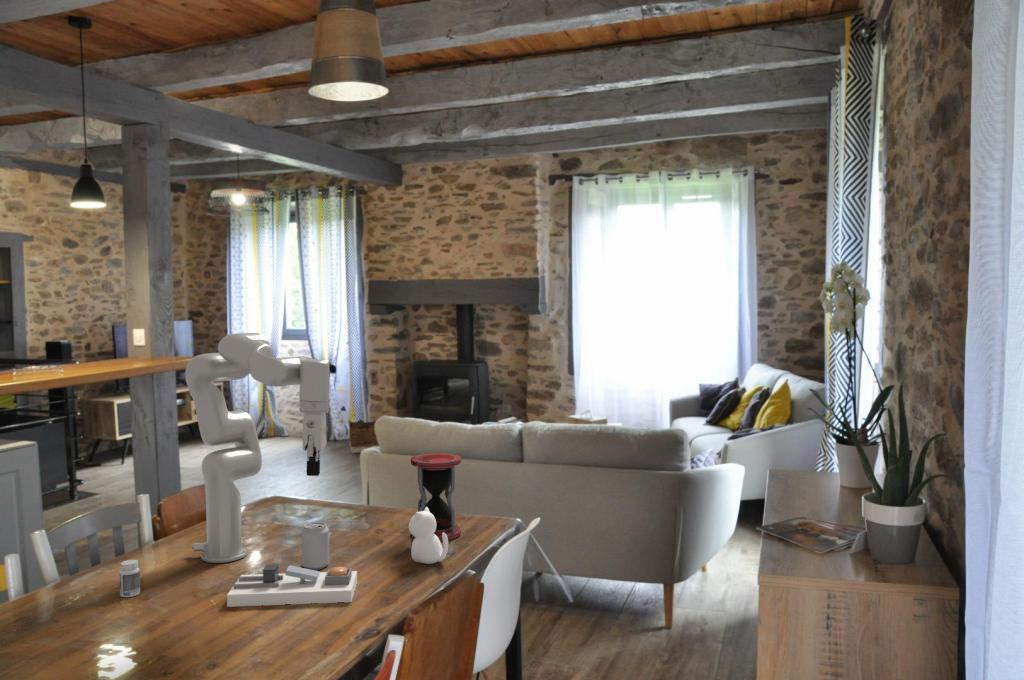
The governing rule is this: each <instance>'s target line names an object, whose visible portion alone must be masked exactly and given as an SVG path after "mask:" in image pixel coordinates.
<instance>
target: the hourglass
mask: <svg viewBox="0 0 1024 680" xmlns="http://www.w3.org/2000/svg"><path fill="white" fill-rule="evenodd" d="M461 462H462V458H461V456H459V455H457V454H453V453H442V452H441V453H438V452H437V453H423V454H418V455H414V456H412V457H411V458H410V465H412V466H413V467H416V468H417V485H418V491H419V494H420V499H419V500H418V502H417V512H421V511H424V510H425V508H426V507H428V509H429V511H430V513H432V514H433V516H434V517H435V520H436V530H435V532H434V533H433V534H435V535H436V536H437V537H438V538H439V540H440V542H443V539H442V533H445V534H446V535H447V538H448V541H451V540H454V539H453V538H455V539H456V537H457V538H458V536H459V535H461V534H462V528H461V526H460V525H458V524H456V520H455V519H456V510H455V507H454V505H453V501H452V494H453V493H454V491H455V487H456V486H455V485H456V481H455V478H456V477H455V473H456V472H455V471H456V468H455V467H456V466H459V465H460V464H461ZM426 491H427V492H428V493H429V494H430V495H431V498H430V499H429V500H428V499H427V494H426ZM443 492H444V494H445V495H444V496H445V498H446V501H444V499H443V498H441V494H442V493H443ZM427 500H428V501H427ZM446 502H447V503H446ZM460 533H461V534H460ZM410 535H411V537H412V536H413V535H412V534H411V533H410ZM413 537H414V536H413ZM413 537H412V538H413ZM459 537H460V536H459ZM415 538H416V537H414V538H413V539H415ZM450 539H451V540H450Z"/></svg>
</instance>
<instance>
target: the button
mask: <svg viewBox="0 0 1024 680" xmlns="http://www.w3.org/2000/svg"><path fill="white" fill-rule="evenodd" d="M347 568H348V567H344V566H335V567H331V568H329V569H330V576H347Z"/></svg>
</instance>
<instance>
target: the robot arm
mask: <svg viewBox="0 0 1024 680" xmlns="http://www.w3.org/2000/svg"><path fill="white" fill-rule="evenodd" d="M217 350H218V352H211V353H210V352H209V353H202V354H198V355H195V356H193V357H192V358H191V359H189V361H188V363H187V365H186V367H185V376H184V377H185V381H186V385H187V388H188V391H189V393H190V395H191V398H192V400H193V403H194V407H195V413H196V420H197V423H198V430H199V433H200V437H201V439H202V442H203V444H204V445H206V446H209V447H210V446H211V447H214V446H216V447H217V446H223V445H227V444H228V445H229V444H234V445H235V447H228V448H222V449H218V450H214V451H211V452H209V453H208V454H207V455H205V456H204V457H203V459H202V462H201V472H202V473H201V474H202V477H203V482H204V489H205V507H206V509H205V510H206V513H205V514H206V515H205V516H206V517H205V518H206V541H204V542H195V543H194V542H192V546H191V547H192V549H191V550H193V552H202V553H201V556H200V557H201V560H202V562H206V563H212V564H223V563H231V562H234V561H239V560H241V559H243V558H245V557H246V556H247V555H248V549H247V548H245V547H243V546H242V502H241V501H242V499H241V494H240V491H239V489H238V488H237V485H235V483H234V481H237V480H241V479H246V478H251V477H253V476H255V475H257V474H258V473H259V472H260V471H261V469H262V465H263V456H262V451H261V447H260V441H259V437H258V432H257V428H256V424H255V420H254V418H253V417H252V416H251V415H250V414H249V413H248V412H246V411H245V410H231V411H230V410H228V407H227V403H226V398H225V395H224V394H223V392H222V391H221V390H220V388H218V386H216V385H215V384H214V383H216V382H225V381H227V382H228V381H229V382H230V381H237V380H242V379H245V378H247V377H248V376H249V375H250V376H251V378H252V379H253V380H255V381H257V382H259V383H261V384H264V385H267V386H270V387H285V386H287V387H288V386H297V385H299V403H298V404H299V408H298V409H299V411H298V412H299V413H300V414H303V418H302V420H303V421H302V450H303V451H304V452H306V476H309V477H314V476H315V477H319V475H320V473H321V459H320V458H321V457H320V456H321V452H322V451H323V450H324V449H325V448H326V446H327V443H328V442H327V441H328V440H327V416H326V415H327V414H328V413H329V412H330V408H329V407H330V364H329V362H328V361H327V360H325V359H319V358H318V359H317V358H316V359H315V358H311V357H308V356H300V355H299V356H287V357H286V356H285V357H275V356H274V354H275V353H274V349H273V348H272V347H271V344H270V341H269V340H268V337H267V336H266V335H264V334H263V333H259V332H247V333H246V332H243V333H240V332H239V333H231V334H227V335H226V336H223V338H221V340H219V342H218V346H217Z"/></svg>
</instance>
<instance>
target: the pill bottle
mask: <svg viewBox="0 0 1024 680" xmlns="http://www.w3.org/2000/svg"><path fill="white" fill-rule="evenodd" d="M118 573H119V575H118V576H119V596H120V597H121V598H132V597H135V596H138V595H139V594H140V593H141V569H140V568H139V560H138V559H128V560H124V561H122V562H120V570H119V572H118Z"/></svg>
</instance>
